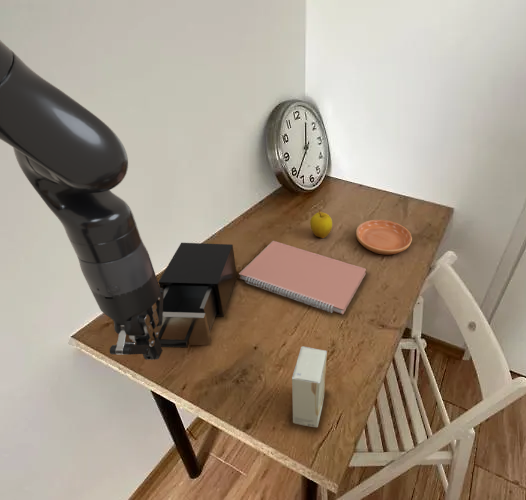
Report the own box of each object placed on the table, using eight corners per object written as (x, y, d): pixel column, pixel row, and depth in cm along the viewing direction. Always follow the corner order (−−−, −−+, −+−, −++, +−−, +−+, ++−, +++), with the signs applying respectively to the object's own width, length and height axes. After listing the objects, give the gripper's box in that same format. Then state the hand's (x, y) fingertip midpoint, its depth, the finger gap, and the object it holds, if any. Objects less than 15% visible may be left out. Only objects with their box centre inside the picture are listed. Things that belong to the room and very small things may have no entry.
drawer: (203, 364, 65) (196, 336, 61) (146, 363, 65) (134, 334, 60) (225, 300, 79) (220, 273, 74) (177, 298, 78) (170, 271, 74)
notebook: (236, 281, 85) (236, 275, 84) (273, 245, 98) (272, 239, 97) (341, 318, 78) (341, 312, 77) (365, 274, 91) (366, 268, 89)
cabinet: (223, 317, 76) (217, 283, 70) (168, 315, 75) (158, 281, 70) (237, 276, 87) (232, 244, 81) (189, 274, 86) (181, 242, 81)
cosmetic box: (317, 428, 58) (320, 385, 51) (292, 423, 58) (290, 380, 51) (325, 393, 63) (328, 349, 56) (301, 389, 64) (301, 345, 56)
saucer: (415, 235, 107) (417, 227, 105) (403, 265, 95) (405, 256, 93) (364, 222, 111) (365, 214, 109) (347, 249, 99) (348, 240, 97)
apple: (315, 227, 107) (315, 204, 102) (334, 233, 105) (336, 209, 100) (306, 238, 102) (306, 214, 97) (326, 244, 100) (328, 220, 96)
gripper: (115, 243, 51) (147, 323, 62) (61, 310, 41) (110, 393, 51) (168, 244, 52) (191, 324, 62) (128, 311, 41) (163, 394, 52)
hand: (154, 355), depth 57 cm, fingers closed
